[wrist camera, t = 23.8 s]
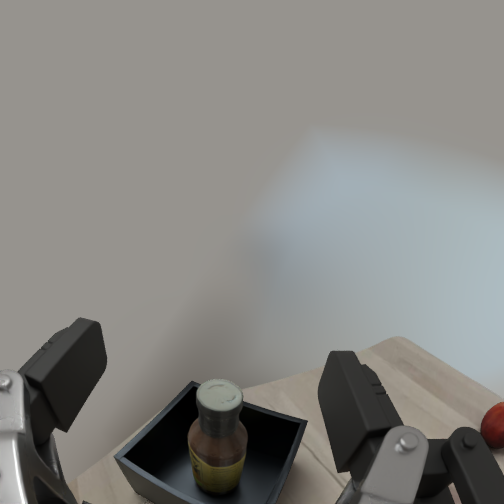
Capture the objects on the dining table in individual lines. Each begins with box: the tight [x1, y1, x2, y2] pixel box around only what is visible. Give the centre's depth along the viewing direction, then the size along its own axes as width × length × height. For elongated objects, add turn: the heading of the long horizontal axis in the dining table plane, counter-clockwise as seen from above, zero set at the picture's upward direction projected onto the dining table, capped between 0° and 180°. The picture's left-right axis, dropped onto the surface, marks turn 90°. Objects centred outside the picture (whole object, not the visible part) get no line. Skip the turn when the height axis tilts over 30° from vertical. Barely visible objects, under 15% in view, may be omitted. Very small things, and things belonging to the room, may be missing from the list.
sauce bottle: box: [188, 379, 248, 495], centre depth 23 cm, size 6×6×20 cm
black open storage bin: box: [114, 381, 308, 504], centre depth 25 cm, size 17×17×11 cm
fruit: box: [481, 402, 504, 449], centre depth 24 cm, size 11×10×10 cm
